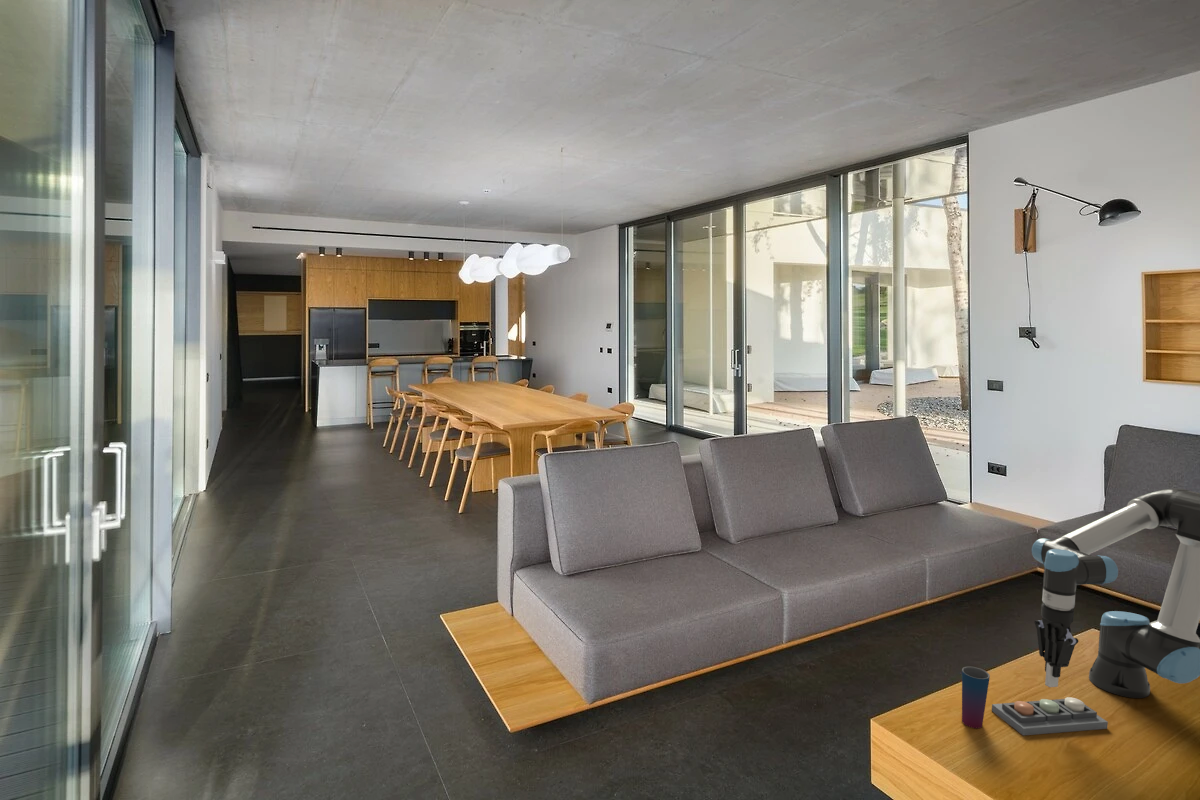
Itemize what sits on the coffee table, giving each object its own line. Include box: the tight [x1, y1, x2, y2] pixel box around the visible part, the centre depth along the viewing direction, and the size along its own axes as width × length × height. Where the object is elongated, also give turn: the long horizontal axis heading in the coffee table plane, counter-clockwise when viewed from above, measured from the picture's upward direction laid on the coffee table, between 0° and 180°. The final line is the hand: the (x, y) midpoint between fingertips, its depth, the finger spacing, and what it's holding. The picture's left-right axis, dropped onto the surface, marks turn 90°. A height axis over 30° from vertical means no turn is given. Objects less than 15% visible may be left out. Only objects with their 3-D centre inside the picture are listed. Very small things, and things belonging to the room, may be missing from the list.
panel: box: [991, 698, 1109, 736], centre depth 191 cm, size 26×12×4 cm, turn 98°
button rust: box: [1014, 700, 1034, 716], centre depth 189 cm, size 5×5×2 cm
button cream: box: [1064, 696, 1086, 712], centre depth 192 cm, size 5×5×2 cm
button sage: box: [1039, 698, 1059, 714], centre depth 190 cm, size 5×5×2 cm
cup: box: [961, 666, 991, 729], centre depth 188 cm, size 7×7×15 cm
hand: (1051, 685), depth 190 cm, fingers closed
